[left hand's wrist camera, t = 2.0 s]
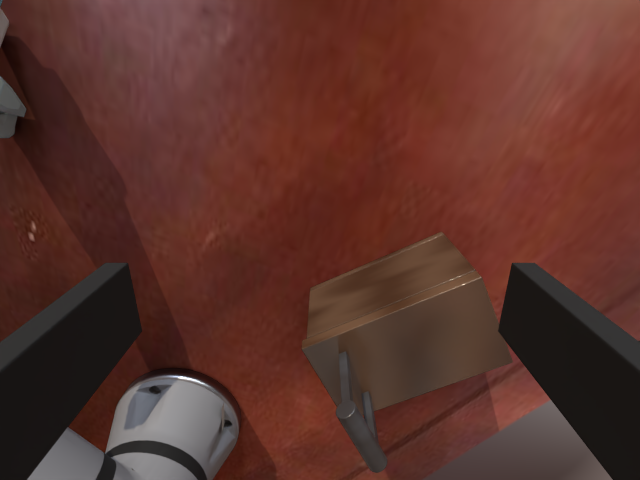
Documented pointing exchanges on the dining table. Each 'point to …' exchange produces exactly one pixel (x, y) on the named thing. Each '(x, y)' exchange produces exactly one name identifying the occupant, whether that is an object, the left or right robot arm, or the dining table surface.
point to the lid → (406, 354)
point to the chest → (384, 282)
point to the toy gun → (8, 94)
